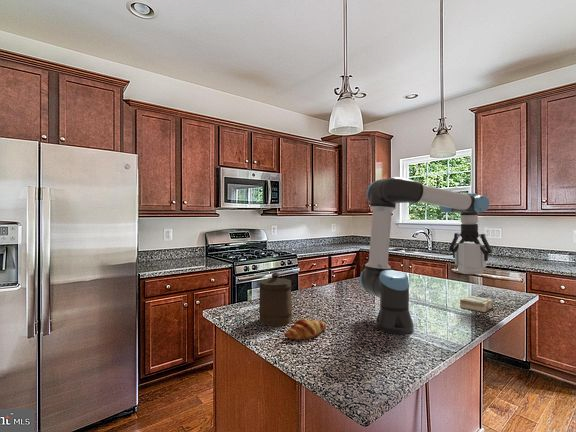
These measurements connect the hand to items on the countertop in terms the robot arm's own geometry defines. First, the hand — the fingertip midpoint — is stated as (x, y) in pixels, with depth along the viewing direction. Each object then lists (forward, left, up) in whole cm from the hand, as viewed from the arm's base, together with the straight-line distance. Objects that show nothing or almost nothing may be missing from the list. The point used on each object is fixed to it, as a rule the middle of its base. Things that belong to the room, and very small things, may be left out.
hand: (470, 265), depth 159 cm
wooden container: (-86, +51, -21) cm, 102 cm away
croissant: (-87, +29, -22) cm, 94 cm away
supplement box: (0, 0, -4) cm, 4 cm away
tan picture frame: (+2, -2, -21) cm, 21 cm away
